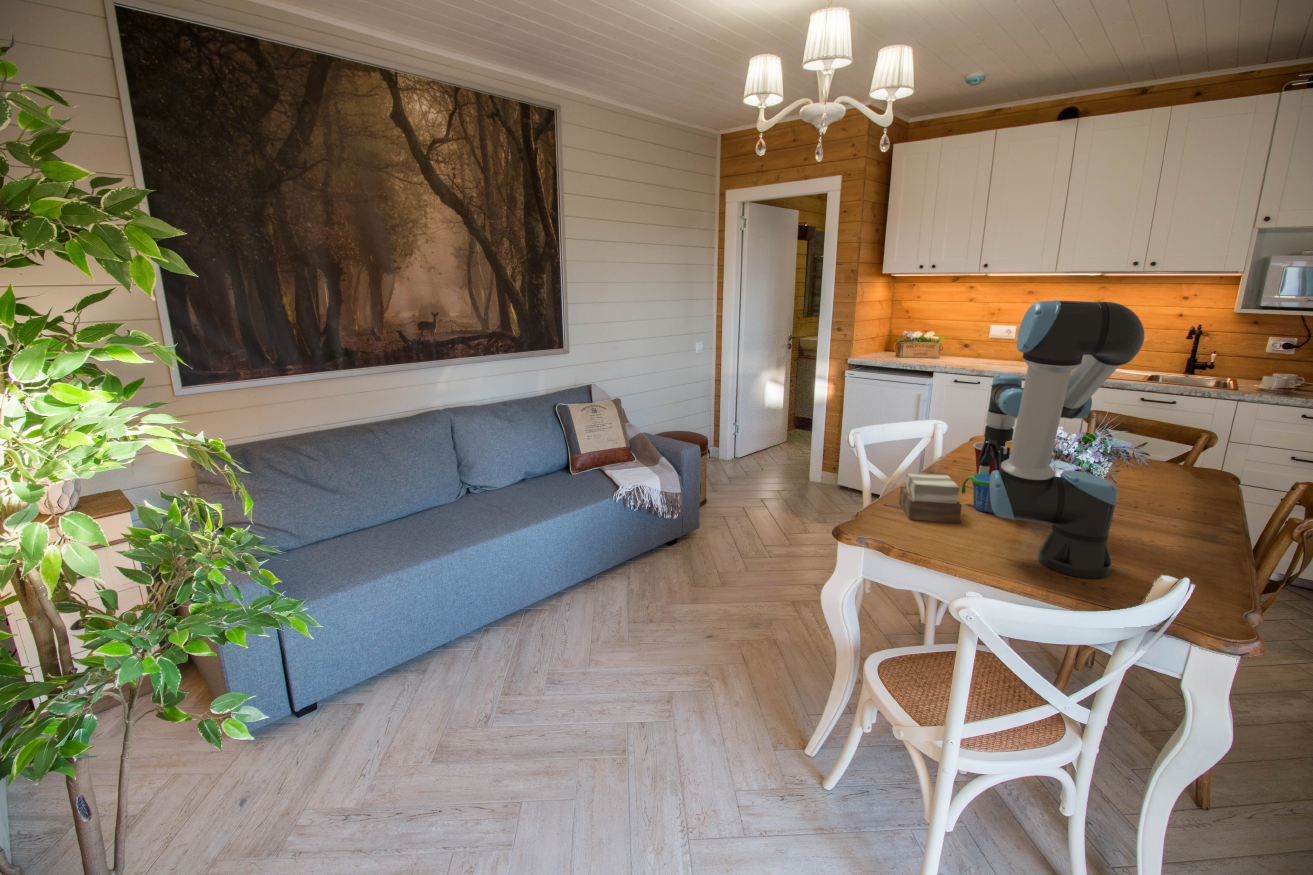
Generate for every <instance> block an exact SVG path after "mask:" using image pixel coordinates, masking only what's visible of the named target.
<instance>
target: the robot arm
mask: <svg viewBox="0 0 1313 875" xmlns="http://www.w3.org/2000/svg"><path fill="white" fill-rule="evenodd" d="M1144 329H1145V328H1144V324H1143V323H1142V320H1141V319H1140V318H1139V316H1138V315H1137V314H1136V313H1135V312H1134V311H1133V310H1131V309H1130V308H1128V307H1127V306H1125V305H1123V304H1120V303H1117V302H1113V301H1084V300H1083V301H1081V300H1080V301H1079V300H1058V299H1055V300H1039V301H1036V302H1033V304H1031V305H1030V306H1029V308H1028V309H1027V310H1026V312H1025V314H1024V315H1023V318H1022V319H1021V322H1020V326H1019V328H1018V332H1017V339H1016V348H1017V351H1018V352H1021V353H1022V357H1021V358H1022V360H1023V361H1024V362H1025V364H1026V365H1027V371H1026V375H1025V379H1024V384H1023V385H1024V386H1023V387H1022V382H1023V379H1022V377H1021V376H1020V375H1015V374H1010V373H1009V374H1006V373H1004V374H1003V373H999V374H995V375H994V376H993V379H992V384H991V385H990V386H991V388H990V397H989V403H988V410H987V413H986V414H987V415H986V420H985V424H986V425H985V428H984V433H983V434H984V435H983V436H984V440H983V442H984V444H983V447H982V450H981V452H980V455H979V457H978V462H979V464H980V465H981V466H980V468H979V474H989V469H990V467H989V466H991V463H990V462H991V461H992V459H993V460H994V461H995V469H996V470H995V471H992V472H991V475H990V500H991V506H992V510H993V512H994V513H993V514H994V515H995V516H997V517H1000V518H1005V519H1010V520H1012V521H1014V520H1019V521H1027V522H1028V521H1029V522H1034V523H1035V522H1036V523H1045V524H1046V523H1047V524H1052V525H1051V528H1050V531H1049V533H1048V535H1047V536H1046V538H1045V539H1044V540H1043V542H1042V544H1041V546H1040V548H1039V550H1038V554H1037V560H1038V561H1039V562H1040V564H1042V565H1044V566H1045V567H1047V568H1049V569H1051V570H1053V571H1056V572H1058V573H1061V574H1064V575H1067V576H1071V577H1076V578H1083V579H1093V580H1094V579H1104V578H1107V577H1108V576H1110V573H1111V569H1112V562H1111V561H1112V560H1111V556H1110V551H1109V545H1108V541H1109V540H1108V539H1109V534H1110V530H1111V525H1112V521H1113V516H1114V513H1115V507H1116V506H1117V497H1118V488H1117V486H1116V485H1115V484H1114V483H1112V482H1111V481H1110V480H1108V479H1106V478H1104V477H1100V476H1098V475H1095V474H1091V473H1088V472H1084V471H1079V470H1074V469H1073V470H1071V469H1069V470H1067V469H1066V470H1063V471H1062V472H1061V473H1060V476H1056V475H1055V474H1056V472H1055V470H1054V469H1053V468H1052V466H1050V464H1051V459H1052V456H1053V451H1054V446H1055V443H1056V438H1057V433H1058V430H1059V425H1060V420H1061V418H1062V419H1069V420H1073V419H1080V420H1081V419H1085V418H1088V416H1089V415H1090V411H1091V409H1092V405H1093V399H1092V396H1093V395H1094V394H1095V393H1096V392H1097V391H1098V390H1099V388H1100V387H1101V386H1103V384H1104V383H1105V382H1106V381H1107V380H1109V378H1110V377H1111V376H1112V374H1113V373H1114V372H1115V371H1116V370H1117V369H1119V367H1120V366H1124V365H1127V364H1128V363H1130V362H1131V361H1133V359H1134V358H1135V357H1136V356H1137V355H1138V354H1139V352H1140V351H1141V349H1142V347H1143V346H1144V340H1145V330H1144ZM1015 423H1016V425H1015ZM1014 427H1015V429H1014ZM1010 441H1012V444H1011V448H1010V446H1009V447H1008V446H1007V447H1005V446H1006V443H1007V442H1010Z"/></svg>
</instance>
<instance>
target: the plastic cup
mask: <svg viewBox="0 0 1313 875" xmlns="http://www.w3.org/2000/svg"><path fill="white" fill-rule="evenodd" d="M983 444H984V441H978V442H975V443H973V445H972V447H973V448H974V453H975V467H976V474H979V468H980V466H981V465H980V464H979V462H978V457H979V455H980V452H981V450H982V447H983ZM1005 447H1008V446H1007V445H1005ZM990 463H991V466H989V467H990V469H989V474H991V472H992V471H995V470H996V469H995V461H994V460H993V459H992V461H991V462H990Z"/></svg>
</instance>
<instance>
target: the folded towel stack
mask: <svg viewBox="0 0 1313 875" xmlns="http://www.w3.org/2000/svg"><path fill="white" fill-rule="evenodd" d="M904 485H905V486H900V490H899V491H900V494H899V498H898V499H899V500H898V504H899V505H900V507H901V509H902V510H903V512H904V513H905V516H906V517H907V519H908V520H912V521H914V520H915V521H927V522H942V523H954V524H955V523H956V524H959V523H960V518H961V514H962V513H961V512H962V507H963V506H962V504H961V502H959V501H958V500H959V493H960V487H959V485H958V484H957V483H956V482H955V481H954V480H953V479H952V478H951V477H950V476H949V475H948V474H938V473H936V474H934V473H923V472H922V473H921V472H919V473H918V472H906V476H905V484H904Z"/></svg>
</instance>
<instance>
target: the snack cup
mask: <svg viewBox="0 0 1313 875" xmlns="http://www.w3.org/2000/svg"><path fill="white" fill-rule="evenodd" d="M990 475H991V474H977V473H975V474H973V475H970V476H968V477H966V478H965V479H964V481H963V482H962V485H961V493H962V494H963V495H964V494H965V493H966V483H967V482H968V481H969V480H971V483H972V494H973V496H972V497H973V498H972V499H973V507H974V508H975V509H976V510H977V511H980V512H983V513H984V512H985V513H989V514H992V513H993V514H995V513H994V512H993V510H992V506H991V500H990Z"/></svg>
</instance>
